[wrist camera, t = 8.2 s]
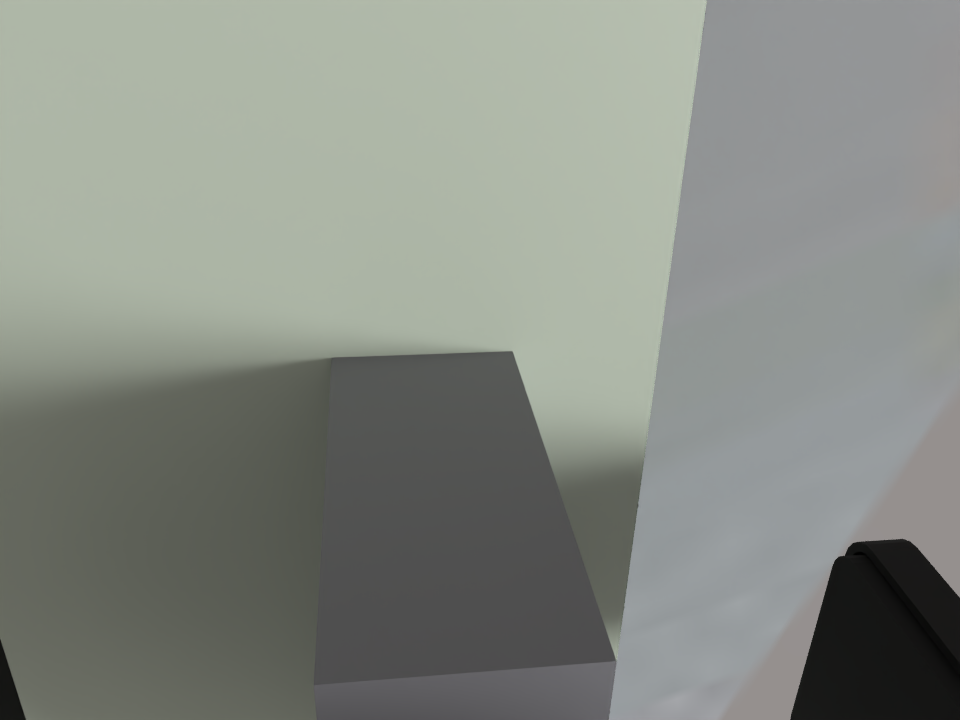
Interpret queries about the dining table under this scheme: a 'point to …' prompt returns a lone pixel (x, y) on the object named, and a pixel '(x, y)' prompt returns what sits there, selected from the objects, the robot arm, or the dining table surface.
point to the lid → (330, 350)
